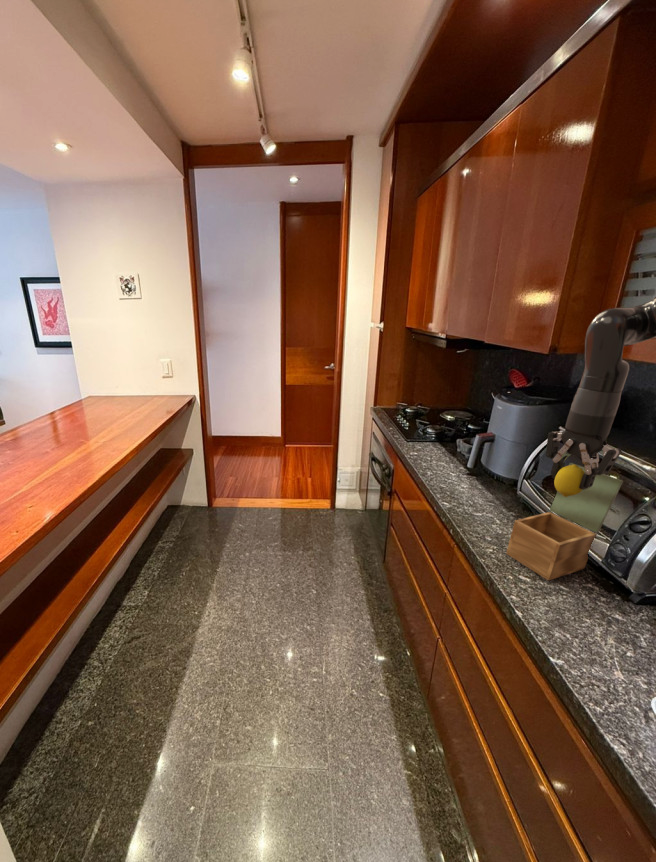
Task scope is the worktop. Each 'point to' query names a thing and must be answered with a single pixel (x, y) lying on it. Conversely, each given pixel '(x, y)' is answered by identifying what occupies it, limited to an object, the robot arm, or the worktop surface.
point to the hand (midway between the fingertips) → (569, 482)
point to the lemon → (569, 480)
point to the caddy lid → (589, 502)
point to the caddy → (550, 545)
